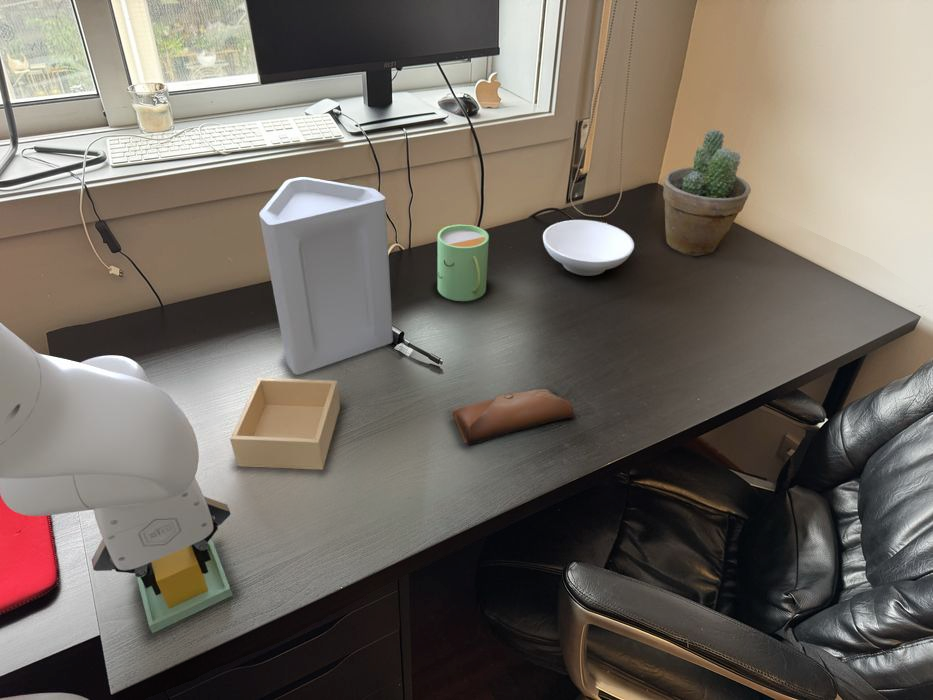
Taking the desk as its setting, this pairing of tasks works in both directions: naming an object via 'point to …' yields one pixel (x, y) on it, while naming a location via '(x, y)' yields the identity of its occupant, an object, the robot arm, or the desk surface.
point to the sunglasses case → (509, 414)
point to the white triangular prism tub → (328, 270)
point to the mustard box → (179, 576)
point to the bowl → (587, 246)
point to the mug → (462, 262)
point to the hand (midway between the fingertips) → (179, 573)
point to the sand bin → (286, 424)
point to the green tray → (217, 592)
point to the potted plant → (703, 198)
